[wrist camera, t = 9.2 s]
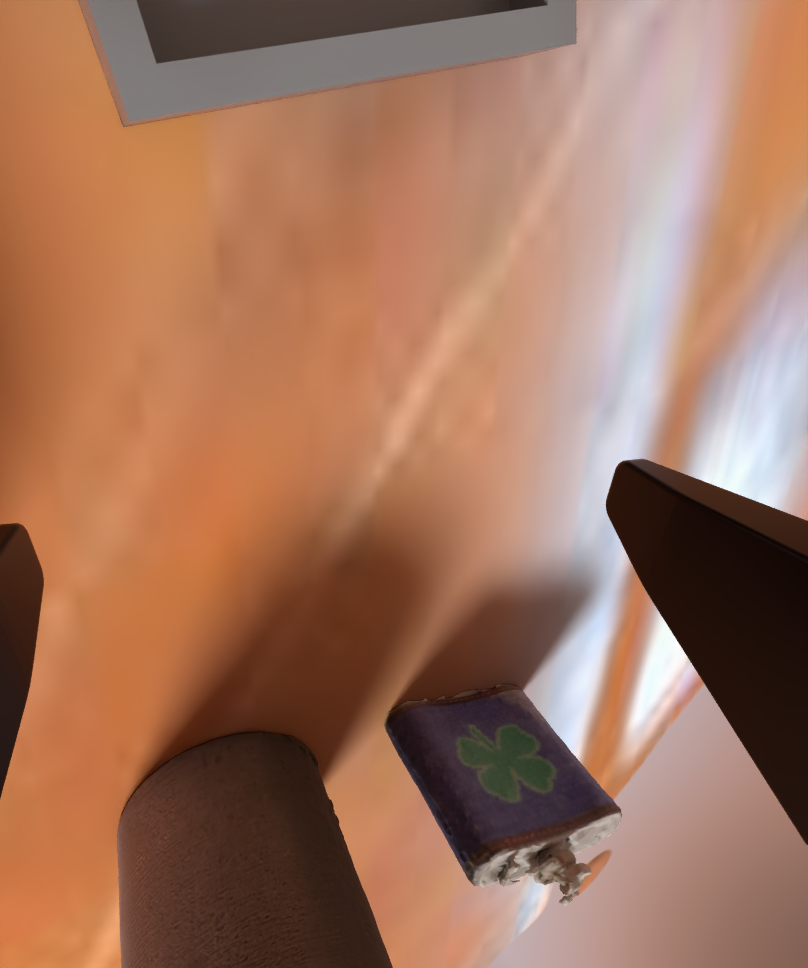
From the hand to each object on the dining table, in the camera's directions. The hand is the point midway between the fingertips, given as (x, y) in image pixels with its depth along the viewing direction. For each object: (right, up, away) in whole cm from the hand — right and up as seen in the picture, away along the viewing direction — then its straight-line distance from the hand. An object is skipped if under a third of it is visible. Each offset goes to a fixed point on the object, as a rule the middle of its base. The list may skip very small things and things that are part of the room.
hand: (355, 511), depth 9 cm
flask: (+4, -12, +25) cm, 28 cm away
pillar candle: (-8, -15, +20) cm, 27 cm away
